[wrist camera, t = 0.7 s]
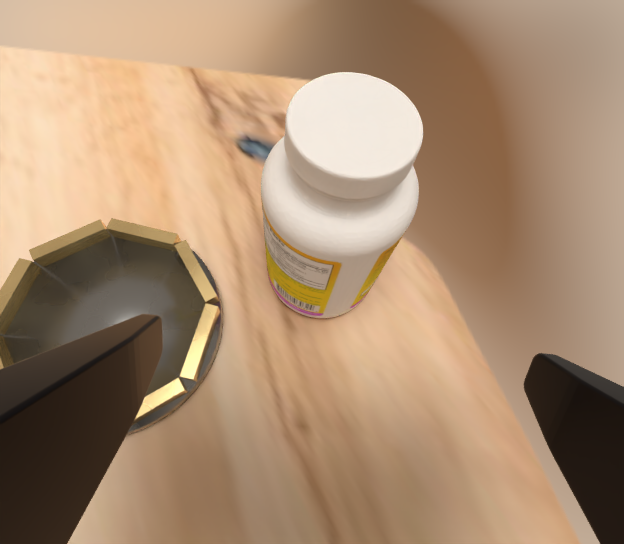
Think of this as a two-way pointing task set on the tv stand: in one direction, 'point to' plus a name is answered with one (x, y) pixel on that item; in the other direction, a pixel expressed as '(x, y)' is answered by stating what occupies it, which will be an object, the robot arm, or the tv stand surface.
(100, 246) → the carrier plate
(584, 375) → the robot arm
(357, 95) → the supplement bottle
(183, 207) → the tv stand surface
